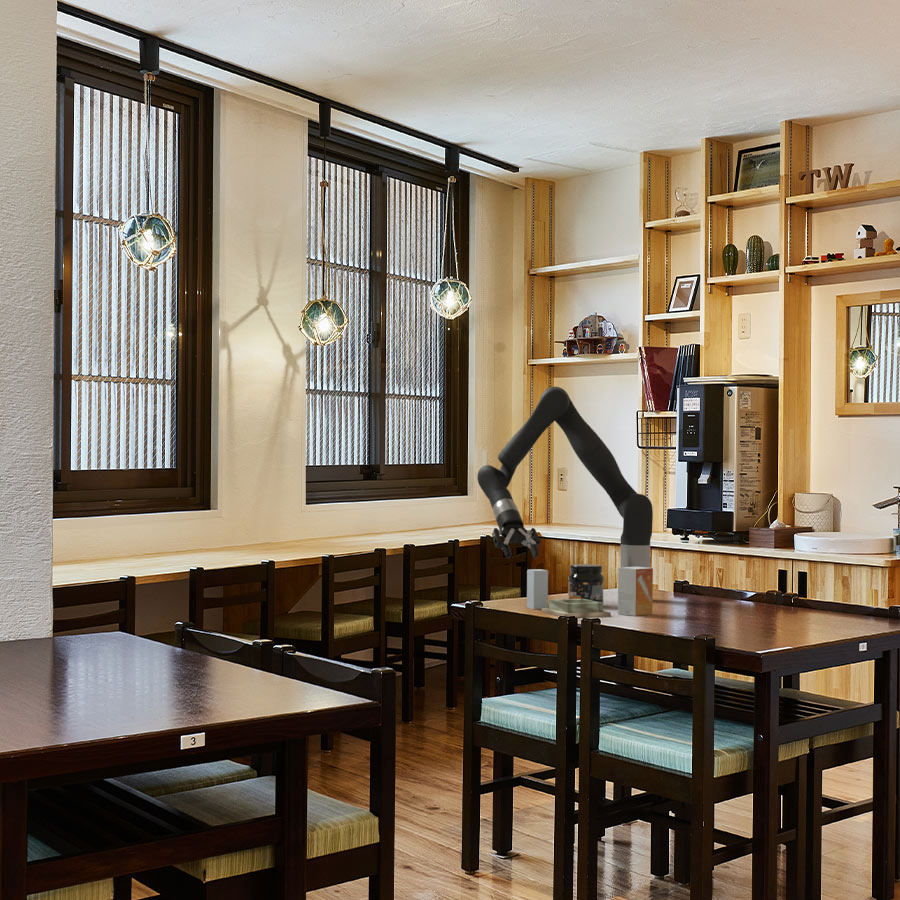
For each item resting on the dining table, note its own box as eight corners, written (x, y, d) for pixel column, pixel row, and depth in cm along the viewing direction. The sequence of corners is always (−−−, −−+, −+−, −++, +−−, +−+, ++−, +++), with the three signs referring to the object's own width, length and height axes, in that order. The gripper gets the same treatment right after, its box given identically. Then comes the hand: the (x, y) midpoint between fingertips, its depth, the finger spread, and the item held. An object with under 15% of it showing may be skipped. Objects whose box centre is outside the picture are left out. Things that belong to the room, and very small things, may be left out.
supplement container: (561, 604, 327) (561, 564, 327) (591, 603, 331) (592, 563, 332) (579, 608, 317) (579, 566, 318) (610, 607, 322) (610, 566, 322)
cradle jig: (585, 610, 312) (585, 598, 312) (610, 616, 299) (610, 603, 299) (541, 611, 307) (541, 599, 307) (565, 617, 294) (565, 604, 294)
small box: (635, 616, 299) (636, 568, 299) (617, 614, 304) (617, 567, 304) (653, 614, 305) (653, 567, 305) (634, 612, 309) (635, 566, 310)
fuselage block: (540, 607, 319) (541, 569, 319) (547, 608, 315) (548, 570, 315) (526, 607, 317) (527, 569, 318) (533, 609, 313) (534, 570, 314)
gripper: (490, 508, 332) (505, 548, 321) (532, 508, 337) (548, 547, 326) (482, 525, 336) (497, 565, 325) (524, 524, 342) (540, 564, 331)
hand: (523, 556), depth 326 cm, fingers open, 8 cm apart
